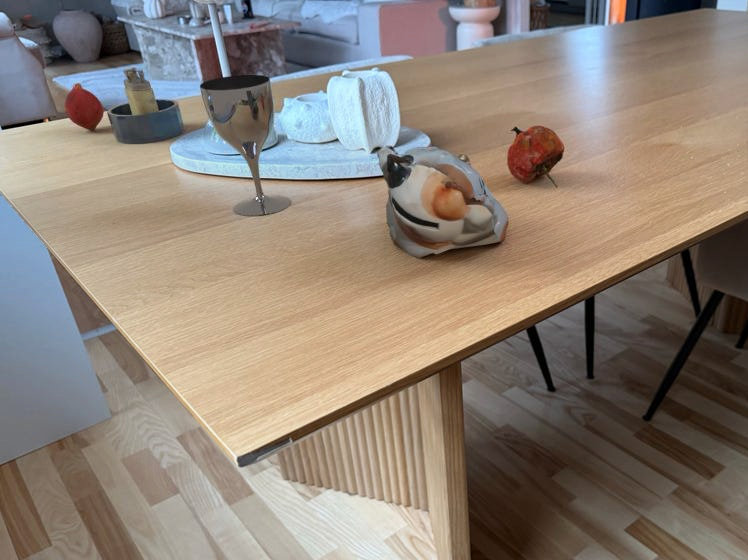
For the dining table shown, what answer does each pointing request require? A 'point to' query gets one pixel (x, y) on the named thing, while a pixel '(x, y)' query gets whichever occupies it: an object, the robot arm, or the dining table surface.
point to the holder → (146, 123)
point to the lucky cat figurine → (438, 202)
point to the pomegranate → (534, 153)
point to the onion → (83, 108)
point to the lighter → (139, 92)
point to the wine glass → (245, 129)
